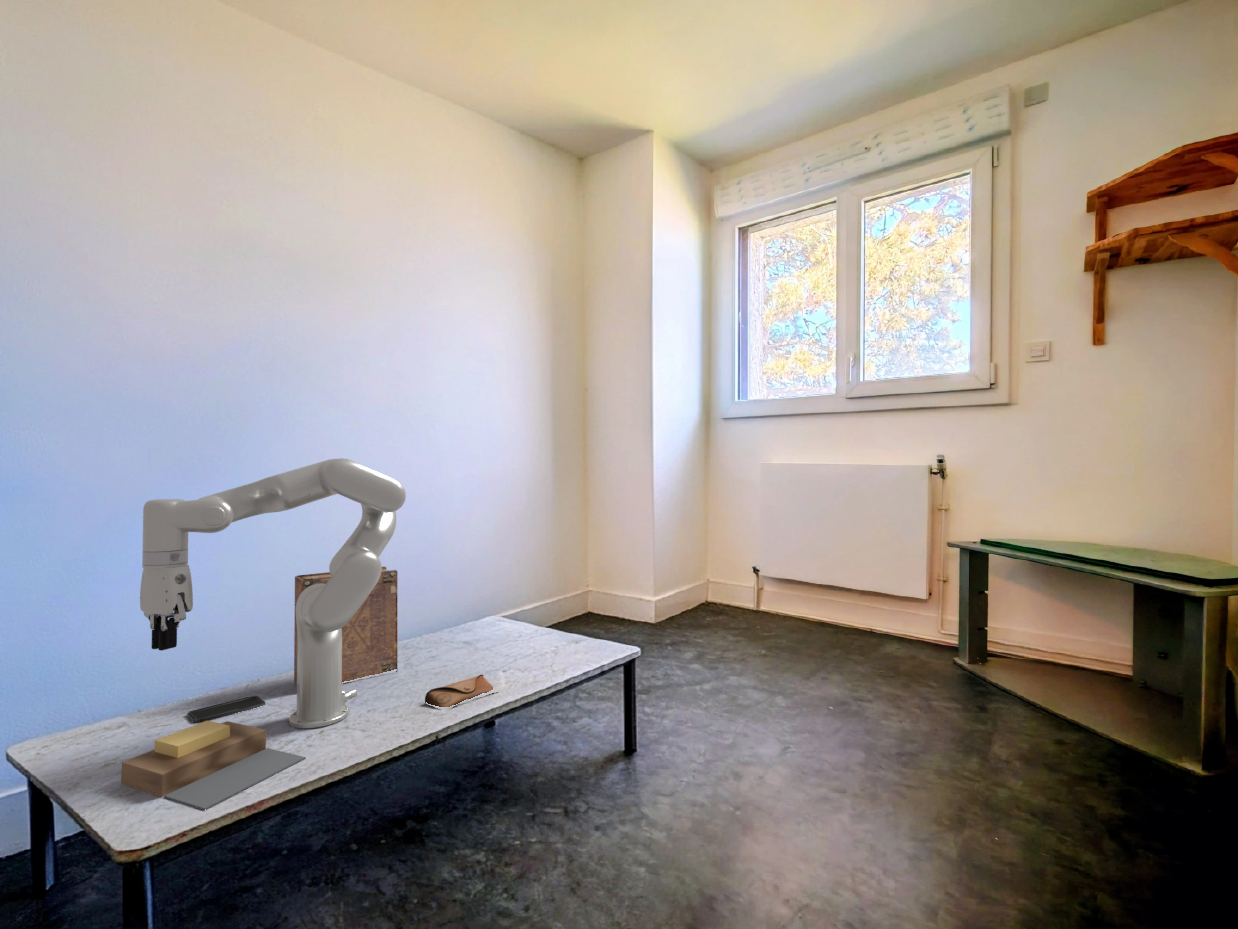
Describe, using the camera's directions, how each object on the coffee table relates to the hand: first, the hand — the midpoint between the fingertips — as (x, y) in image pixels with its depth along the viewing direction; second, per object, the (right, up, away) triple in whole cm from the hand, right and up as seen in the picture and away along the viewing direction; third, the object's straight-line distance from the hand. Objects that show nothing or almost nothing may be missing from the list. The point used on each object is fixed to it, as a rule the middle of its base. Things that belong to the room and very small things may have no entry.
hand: (164, 647), depth 122 cm
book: (+16, -23, +46) cm, 54 cm away
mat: (+21, -22, -9) cm, 32 cm away
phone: (-2, -23, +23) cm, 33 cm away
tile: (+9, -18, -4) cm, 20 cm away
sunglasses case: (+54, -23, +31) cm, 66 cm away
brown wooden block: (+10, -22, -5) cm, 25 cm away
